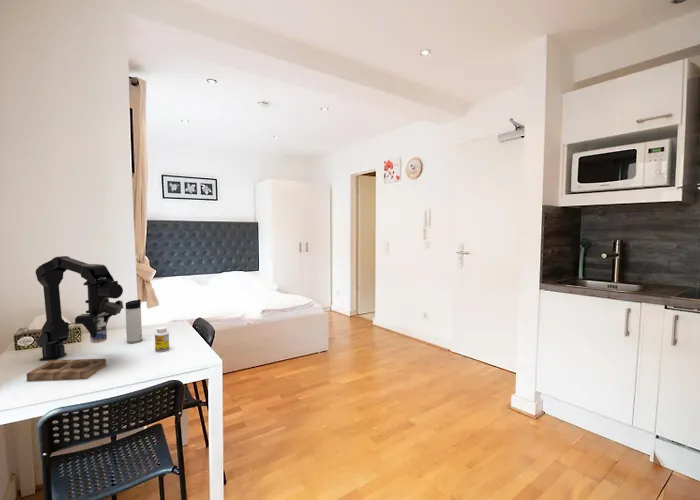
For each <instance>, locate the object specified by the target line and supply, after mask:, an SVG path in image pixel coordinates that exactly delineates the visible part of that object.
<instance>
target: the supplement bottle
mask: <svg viewBox="0 0 700 500" xmlns="http://www.w3.org/2000/svg"><path fill="white" fill-rule="evenodd" d="M169 334H170V333H169V331H168V330H167V327H166V326H159V327H157V328H156V332H155V333H154V346H155V347H154V348H155V349H154V350H155V351H156V352H157V353H162V352H167V351H168V350H169V349H170V335H169Z"/></svg>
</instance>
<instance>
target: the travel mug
mask: <svg viewBox="0 0 700 500" xmlns="http://www.w3.org/2000/svg"><path fill="white" fill-rule="evenodd" d="M141 302H142V300H141V299H135V300H129V301H127V302H126V303H125V308H124V309H125V329H126V343H127V344H137V343H141V342H142V341H143V331H142V330H143V329H142V327H143V326H142V307H141V306H142V305H141Z"/></svg>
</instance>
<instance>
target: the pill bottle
mask: <svg viewBox="0 0 700 500" xmlns="http://www.w3.org/2000/svg"><path fill="white" fill-rule="evenodd" d="M98 320H101V321H100V322H99V323H98V324H97V334H96V337H92V336H91V334H90V333H89V340H90V343H91V344H100V343H105V342H106V341H107V339H108V336H107V335H108V334H107V333H108V332H107V331H108V329H107V326H106V322H104V317H103V316H98Z"/></svg>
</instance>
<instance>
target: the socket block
mask: <svg viewBox="0 0 700 500" xmlns="http://www.w3.org/2000/svg"><path fill="white" fill-rule="evenodd" d="M104 367H107V358H80V359H79V358H77V359H56V360H48V362H45V363H43V364H42V365H40V366H38V367H35V368H34V369H32V370H30V371H28V372H27V373H26V381H27V382H41V381H42V382H44V381H47V382H48V381H50V382H51V381H72V380H74V381H75V380H77V381H78V380H88V379H89V378H91V377H92V376H93V375H95V374H96V373H98V372H99V371H101V370H102V369H103V368H104ZM100 369H101V370H100ZM97 371H98V372H97Z"/></svg>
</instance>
